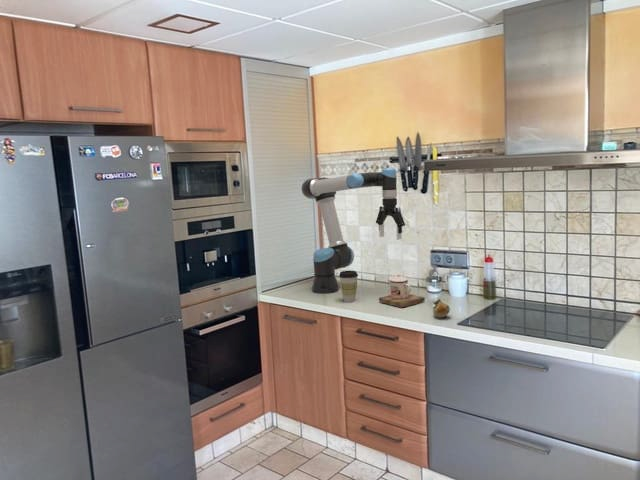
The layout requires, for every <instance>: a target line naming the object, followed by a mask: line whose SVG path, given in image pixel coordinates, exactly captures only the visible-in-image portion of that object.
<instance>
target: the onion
mask: <svg viewBox="0 0 640 480" xmlns="http://www.w3.org/2000/svg"><path fill="white" fill-rule="evenodd" d="M432 304H433V305H434V306H433V308H432V314H433V315H434V316H435V317H436V318H438V319H441V318H442V319H444V318H445V317H447V315H449V313H450V310H451V309H450V306H449V305H448V304H446V303H445V302H442V300H441V299H440V298H439V299H436V300H432Z"/></svg>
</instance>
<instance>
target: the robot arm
mask: <svg viewBox="0 0 640 480" xmlns="http://www.w3.org/2000/svg"><path fill="white" fill-rule="evenodd" d="M397 177H398V176H397V169H396V168H394V167H388V168H382V169H381V171H380V172H379V171H378V172H377V171H376V172H375V171H374V172H373V171H368V172H358V173H357V172H355V173H350V174H347V175H341V176H336V177H335V176H334V177H324V176H322V177H317V178H316V177H315V178H313V177H312V178H307V179H306V180H304V181H303V183H302V184H301V193H302V194H303V196H304V197H305V198H308V199H310V200H311V199H313V200H314V199H315V203H316V204H317V205H319V209H320V212H321V216H322V220H323V223H324V228H325V232H326V237H327V239H328V240H327V241H328V246H327V247H324V248H319V249H316V250H315V251H314V252H313V259H312V261H313V272H314V279H313V282H312V286H311V291H312V292H313V293H316V294H331V293H335V292H338V291H339V288H340V287H339V283H338V281H337V278H336V270H338V269H344V268H345V269H346V268H347V267H349V266H351V265H352V264H353V262H354V260H355V253H354V250H353V248H351V247H350V246H348V242H346V241H345V240H344V236H343V233H342V230H341V225H340V221H339V217H338V213H337V209H336V206H335V199H336V195H337V192H341V191H346V190H354V189H360V188H361V189H362V188H370V187H372V188H373V187H381V191H382V195H381V196H382V202H381V203H382V206H379V210H378V214H377V218H376V220H375V224H377V225H378V231H379V235H378V237H379V238H384V237H385V224H384V222H385V220H386V219H387V217H388V216H389V217H391V218H392V219H393V221H394V222H395V224H396V240H403V239H402V234H403V227H405V226H406V223H405V220H404V217H403V215H402V211H401V207H396V206H397V205H398V198H397V197H398V192H397V191H398V189H397V188H398V187H397V184H398V183H397V179H398V178H397Z"/></svg>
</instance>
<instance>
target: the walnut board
mask: <svg viewBox="0 0 640 480" xmlns="http://www.w3.org/2000/svg"><path fill="white" fill-rule="evenodd" d="M425 298H426V297H424V296H420V295H418V294H411V293H409V294H408V297H407V298H404V299H395V298H392V297H391V294H389V295H385V296H380V297H379V298H378V301H379V302H380V303H381V302H382V303H381V304H387V305H391V306H395V307H398V308H401V309H402V308H405V307H409V306H412V305H415V304H421V303H424V302H425Z"/></svg>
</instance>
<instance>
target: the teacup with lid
mask: <svg viewBox="0 0 640 480" xmlns="http://www.w3.org/2000/svg"><path fill="white" fill-rule="evenodd" d="M389 283H390V295H391V297H392V298H395V299H404V298H407V297H408V294H411V290H412V287H411V285H410V284H408V283H409V279H408V278H407V277H405V276H403V275H402V274H401V273H397V274H396V275H394V276H393V277H391V278H390V279H389Z"/></svg>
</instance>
